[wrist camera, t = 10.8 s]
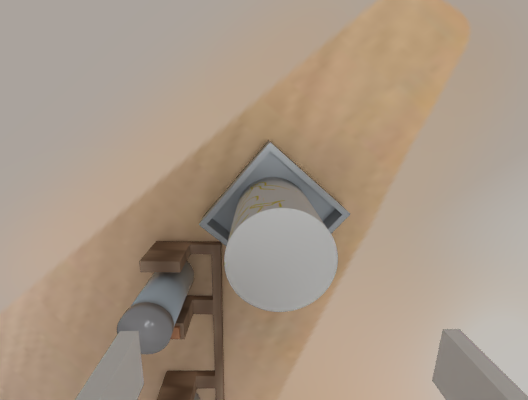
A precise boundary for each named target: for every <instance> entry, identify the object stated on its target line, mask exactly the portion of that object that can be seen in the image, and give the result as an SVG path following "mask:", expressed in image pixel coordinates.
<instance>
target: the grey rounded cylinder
mask: <svg viewBox="0 0 528 400" xmlns="http://www.w3.org/2000/svg"><path fill="white" fill-rule="evenodd" d="M193 279H194V270H193V268H192V266H191V265H190V263H189V262H187V261H186V263H185V265H184V266H183V268H182V270H181V272H154V274H153V275H152V277H151V278H150V279H149V281H148V282H147V284H146V285H145V287H144V288H143V290H142V291H141V292H140V294H139V295H138V297H137V298H136V300H135V301H134V302H133V304H132V305H131V307H130V308H129V309H128V310H127V311H126V312H125V313H124V315H123V316H122V318H121V319H120V321H119V323H118V326H117V334H118V333H119V332H120V331H139V341H140V350H141V354H153V353H156V352H159V351H161V350H162V349H164V348H165V347H166V346H167V344H168V343H169V341H170V338H171V336H172V333H173V330H174V326H175V323H176V321H177V318H178V316H179V313H180V311H181V309H182V306H183V304H184V301H185V299H186V296H187V294H188V292H189V289H190V287H191V284H192V282H193Z"/></svg>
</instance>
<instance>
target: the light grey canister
mask: <svg viewBox="0 0 528 400" xmlns="http://www.w3.org/2000/svg"><path fill="white" fill-rule="evenodd" d="M337 264H338V253H337V248H336V244H335V241H334V239H333V237H332V235H331V233H330V232H329V230H328V229H327V227H326V226H325V224H324V223H323V221H322V220H321V218H320V217H319V215H318V214H317V212H316V211H315V209H314V208H313V207H312V205H311V204H310V202H309V201H308V199H307V198H306V196H305V195H304V193H303V192H302V190H301V189H300V188H299V187H298V186H297V185H295V184H294V183H293V182H291V181H289V180H287V179H284V178H279V177H267V178H263V179H260V180H257V181H255V182H253V183H252V184H251V185H249V186H248V187H247V188H246V189H245V190H244V191H243V193H242V194H241V196H240V198H239V201H238V204H237V208H236V211H235V215H234V219H233V223H232V227H231V231H230V235H229V239H228V242H227V246H226V250H225V256H224V267H225V272H226V276H227V279H228V281H229V283H230V285H231V287H232V288H233V290H234V291H235V292H236V293H237V294H238V295H239V296H240V297H241V298H242V299H243V300H244V301H246V302H247V303H249V304H251V305H252V306H254V307H257V308H259V309H263V310H266V311H273V312H286V311H293V310H297V309H300V308H302V307H305V306H307V305H309V304H311V303H312V302H314V301H315V300H317V299H318V298H319V297H320V296H321V295H322V294H323V293H324V292H325V291H326V290H327V289H328V287H329V286H330V284H331V283H332V281H333V279H334V276H335V273H336V270H337Z"/></svg>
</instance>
